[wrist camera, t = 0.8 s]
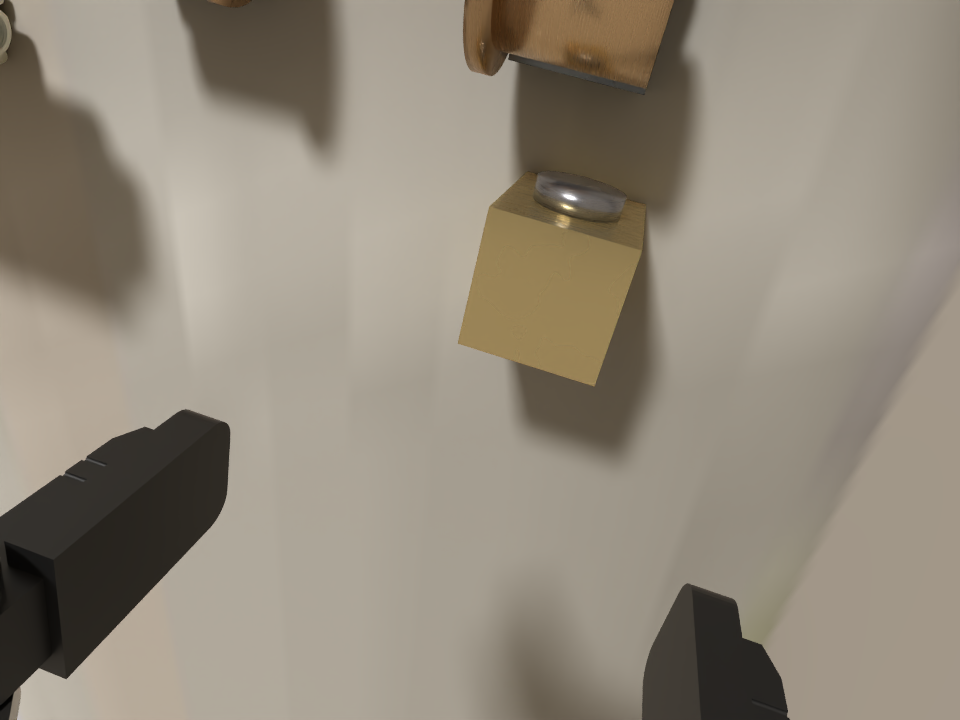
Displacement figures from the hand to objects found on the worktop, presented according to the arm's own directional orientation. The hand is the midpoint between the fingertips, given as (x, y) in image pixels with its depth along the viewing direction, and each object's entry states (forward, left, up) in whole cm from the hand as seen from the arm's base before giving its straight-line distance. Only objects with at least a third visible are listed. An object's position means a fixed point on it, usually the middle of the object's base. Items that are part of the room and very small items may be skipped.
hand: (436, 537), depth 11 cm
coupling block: (0, 0, -19) cm, 19 cm away
